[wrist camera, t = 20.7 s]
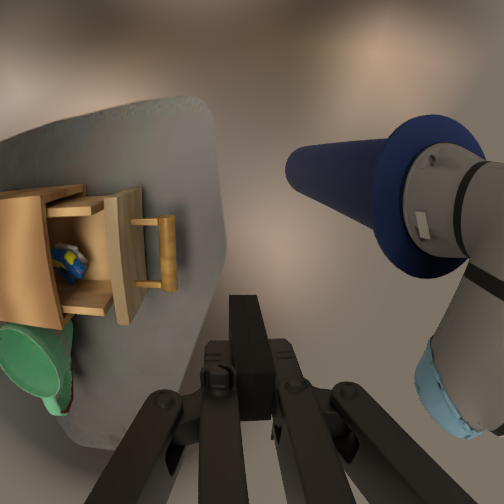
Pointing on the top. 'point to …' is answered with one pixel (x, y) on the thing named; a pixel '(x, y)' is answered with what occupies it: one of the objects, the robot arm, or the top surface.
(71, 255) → the toy
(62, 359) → the mug
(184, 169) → the top surface
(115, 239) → the drawer
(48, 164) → the top surface
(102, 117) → the top surface
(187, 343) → the top surface
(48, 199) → the cabinet
